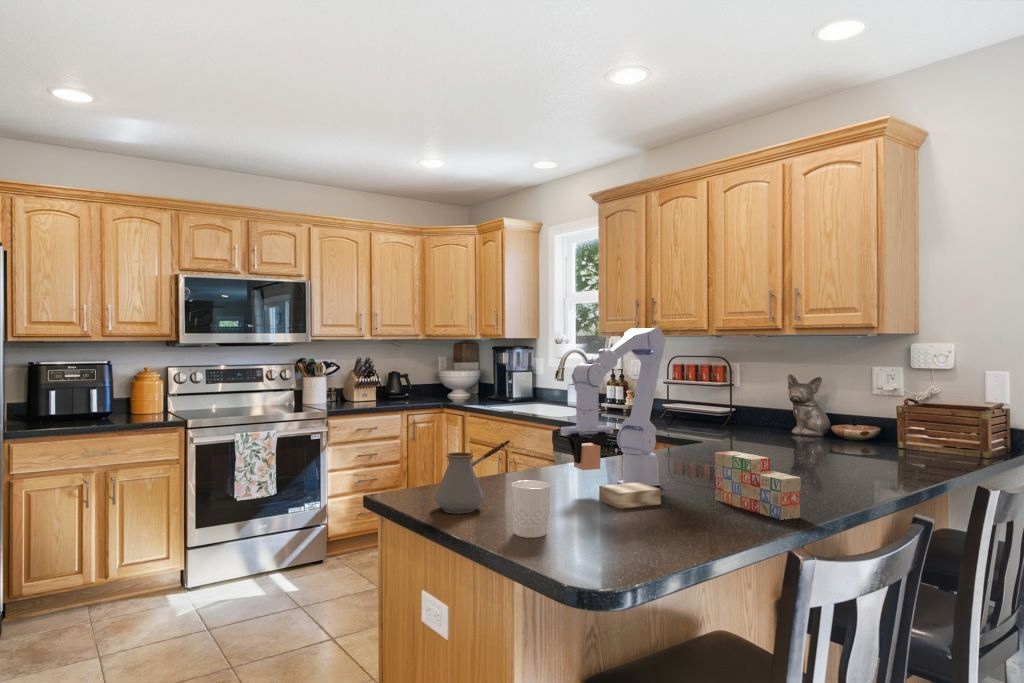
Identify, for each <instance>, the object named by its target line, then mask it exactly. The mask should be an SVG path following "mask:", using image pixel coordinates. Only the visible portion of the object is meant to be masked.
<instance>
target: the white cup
mask: <svg viewBox="0 0 1024 683" xmlns="http://www.w3.org/2000/svg"><path fill="white" fill-rule="evenodd" d="M510 485H511V509H512V510H511V511H512V521H513V523H512V524H513V525H512V526H513V534H514V535H515V536H517V537H521V538H527V539H528V538H532V539H533V538H541V537H544V536H546V534H548V520H549V508H550V489H551V488H550V487H551V484H550V483H548V482H546V481H540V480H532V479H531V480H518V481H514V482H512V483H511V484H510Z"/></svg>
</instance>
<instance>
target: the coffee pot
mask: <svg viewBox="0 0 1024 683" xmlns="http://www.w3.org/2000/svg"><path fill="white" fill-rule="evenodd" d="M509 444H511V445H512V446H510V445H509ZM506 445H507V446H508V447H509V448H510V449H511V448H513V447H514V443H513V442H512V441H511V440H510V439H507V440H505V441H504V442H501V443H500V444H499V445H497V446H495V447H493V448H492V449H490V450H488V451H487V452H486V453H485V454H483V455H482V456H480V457H479V458H478V459H476V460H474V461H472V458H473V457H474V453H470V452H448V453H446V455H445V456H446V458H447V460H448V465H447V468H446V470H445V472H444V475H443V477H442V479H441V482H440V484H439V486H438V488H437V491H436V494H435V496H434V501H435V503H436V504H437V506H438V507H439V508H441V509H442V511H444V512H445V513H448V514H449V513H450V514H468V513H469V514H470V513H472V512H475V511H476V510H477V508H479V507H480V506H481V505H482V504H483V502H484V499H485V497H484V496H485V495H484V493H483V490H482V488H481V486H480V483H479V480H478V478H477V476H476V473H475V471H474V468H473V467H475V466H476V465H478V464H479V463H481V462H482V461H484V460H485V459H487V458H489V457H491V456H492V455H494V454H496V453H498V452H499V451H500V450H501V449H502V448H505V446H506Z"/></svg>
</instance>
